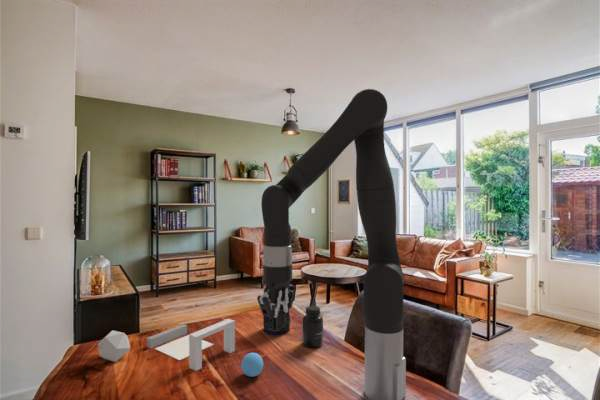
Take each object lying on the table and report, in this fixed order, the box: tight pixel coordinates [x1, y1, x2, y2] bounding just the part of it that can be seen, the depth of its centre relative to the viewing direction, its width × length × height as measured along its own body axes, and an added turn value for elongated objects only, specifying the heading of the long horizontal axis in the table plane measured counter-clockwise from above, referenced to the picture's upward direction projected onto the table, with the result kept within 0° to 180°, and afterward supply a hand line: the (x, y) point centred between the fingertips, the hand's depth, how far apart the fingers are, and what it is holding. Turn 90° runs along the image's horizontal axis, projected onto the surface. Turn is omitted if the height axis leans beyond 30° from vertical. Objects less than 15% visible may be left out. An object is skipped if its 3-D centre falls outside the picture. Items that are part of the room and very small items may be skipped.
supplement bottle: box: [302, 305, 324, 349], centre depth 113 cm, size 7×7×12 cm
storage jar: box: [262, 288, 291, 337], centre depth 124 cm, size 10×10×15 cm
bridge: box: [188, 318, 236, 372], centre depth 103 cm, size 3×15×10 cm, turn 145°
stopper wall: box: [146, 324, 188, 349], centre depth 116 cm, size 2×14×3 cm, turn 145°
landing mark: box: [154, 334, 214, 361], centre depth 111 cm, size 13×13×1 cm
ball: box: [240, 352, 264, 378], centre depth 93 cm, size 6×6×6 cm
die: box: [97, 330, 131, 363], centre depth 103 cm, size 8×9×10 cm
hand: (277, 328), depth 88 cm, fingers open, 3 cm apart
